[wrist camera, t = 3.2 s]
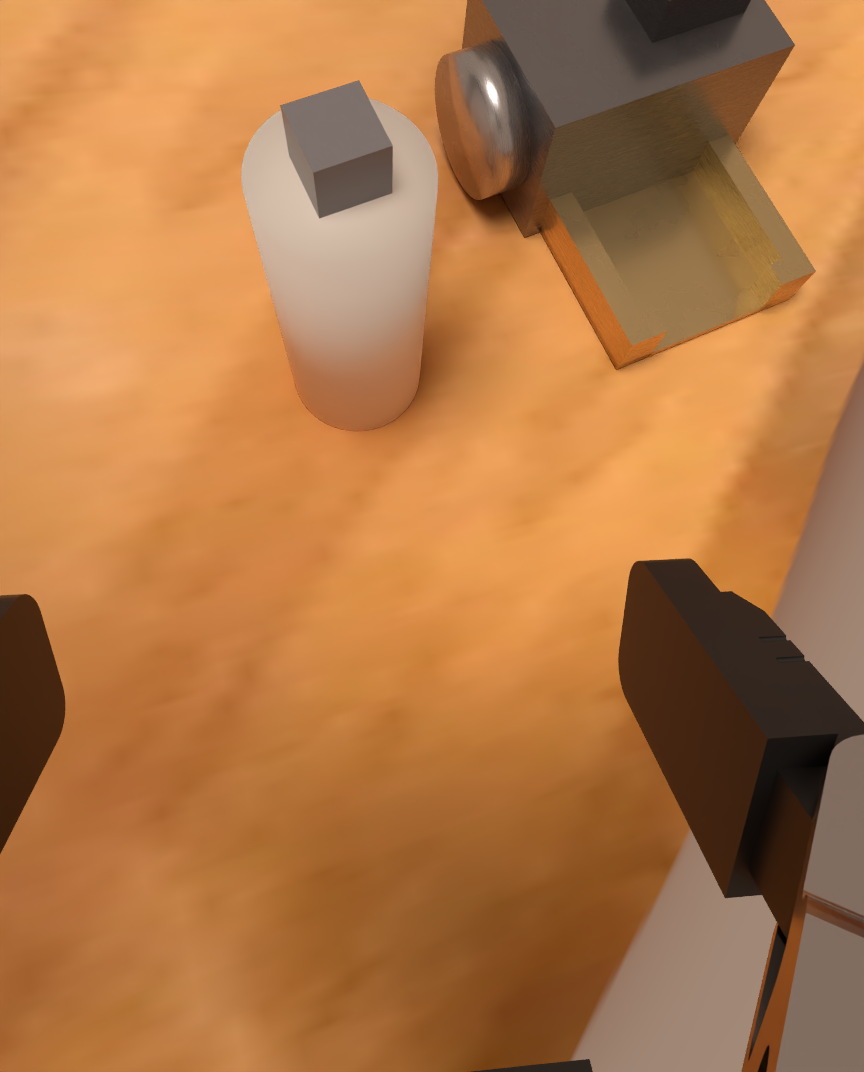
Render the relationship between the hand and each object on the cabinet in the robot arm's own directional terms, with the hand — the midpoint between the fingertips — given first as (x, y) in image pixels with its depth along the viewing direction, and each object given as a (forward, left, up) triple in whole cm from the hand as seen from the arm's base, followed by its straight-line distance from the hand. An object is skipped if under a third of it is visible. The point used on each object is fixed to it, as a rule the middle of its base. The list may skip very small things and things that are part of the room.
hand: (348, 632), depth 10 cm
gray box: (-15, +18, -17) cm, 28 cm away
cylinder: (-12, +4, -17) cm, 21 cm away
